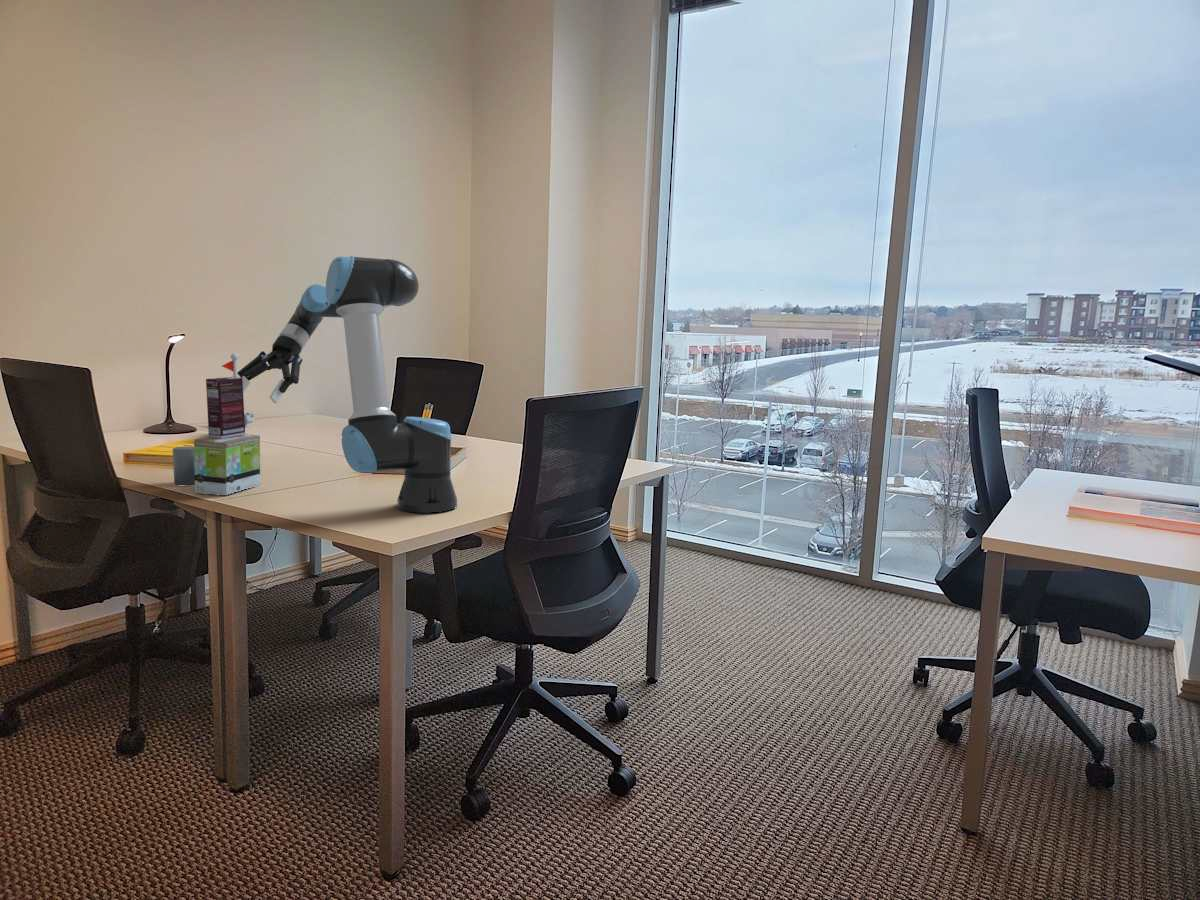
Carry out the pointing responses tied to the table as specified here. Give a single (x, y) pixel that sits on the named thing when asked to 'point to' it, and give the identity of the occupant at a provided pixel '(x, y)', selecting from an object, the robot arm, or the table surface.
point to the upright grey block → (184, 465)
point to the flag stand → (233, 367)
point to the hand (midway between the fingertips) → (253, 398)
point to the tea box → (226, 464)
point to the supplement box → (225, 407)
